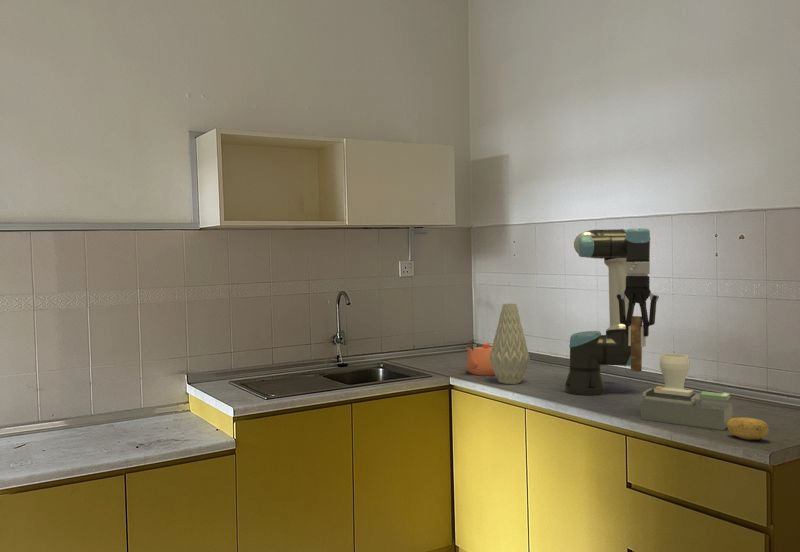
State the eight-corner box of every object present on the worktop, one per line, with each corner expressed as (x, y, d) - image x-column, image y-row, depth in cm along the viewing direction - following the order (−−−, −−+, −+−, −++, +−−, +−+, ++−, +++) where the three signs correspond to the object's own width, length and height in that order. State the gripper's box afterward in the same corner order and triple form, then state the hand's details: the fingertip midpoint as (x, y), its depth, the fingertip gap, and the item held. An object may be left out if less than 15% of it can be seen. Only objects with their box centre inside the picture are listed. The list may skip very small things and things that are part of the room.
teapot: (479, 379, 304) (479, 347, 304) (451, 373, 317) (451, 344, 316) (517, 372, 320) (517, 343, 320) (490, 368, 333) (490, 339, 332)
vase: (509, 377, 308) (509, 301, 307) (537, 383, 294) (538, 304, 293) (480, 381, 298) (480, 303, 297) (508, 387, 284) (509, 305, 283)
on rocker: (699, 397, 224) (699, 393, 224) (703, 395, 228) (703, 390, 228) (726, 400, 219) (726, 396, 219) (730, 398, 223) (730, 393, 223)
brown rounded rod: (629, 370, 235) (630, 316, 234) (632, 369, 237) (633, 316, 237) (639, 371, 233) (640, 317, 232) (642, 370, 235) (643, 316, 235)
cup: (654, 392, 275) (655, 353, 275) (680, 391, 276) (681, 353, 276) (667, 397, 265) (667, 357, 264) (694, 397, 265) (695, 357, 265)
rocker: (654, 392, 232) (654, 388, 232) (658, 390, 236) (658, 386, 236) (689, 396, 226) (689, 392, 226) (692, 394, 229) (693, 389, 229)
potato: (761, 444, 200) (762, 422, 200) (722, 437, 209) (722, 416, 208) (771, 440, 205) (772, 419, 204) (732, 433, 213) (733, 412, 213)
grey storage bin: (640, 419, 231) (641, 393, 230) (652, 411, 241) (652, 387, 241) (723, 430, 216) (724, 402, 216) (732, 422, 227) (732, 395, 227)
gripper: (609, 275, 236) (608, 345, 237) (659, 275, 227) (658, 348, 227) (617, 274, 243) (616, 343, 243) (666, 275, 233) (665, 346, 233)
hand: (636, 345), depth 235 cm, fingers closed on brown rounded rod, 3 cm apart
